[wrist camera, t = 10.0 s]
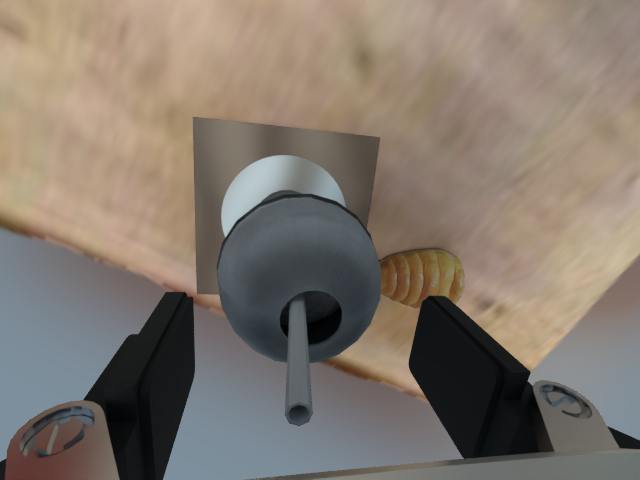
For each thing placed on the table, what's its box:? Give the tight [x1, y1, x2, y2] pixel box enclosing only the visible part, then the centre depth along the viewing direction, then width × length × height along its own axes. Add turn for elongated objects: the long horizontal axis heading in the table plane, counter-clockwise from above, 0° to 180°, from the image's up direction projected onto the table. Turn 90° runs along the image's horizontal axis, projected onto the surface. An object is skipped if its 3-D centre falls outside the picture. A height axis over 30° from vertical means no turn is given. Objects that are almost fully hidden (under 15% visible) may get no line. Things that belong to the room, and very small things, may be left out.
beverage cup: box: [216, 190, 381, 426], centre depth 15 cm, size 7×7×20 cm
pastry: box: [379, 249, 464, 308], centre depth 33 cm, size 9×7×4 cm
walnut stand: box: [193, 117, 380, 294], centre depth 28 cm, size 14×14×5 cm
